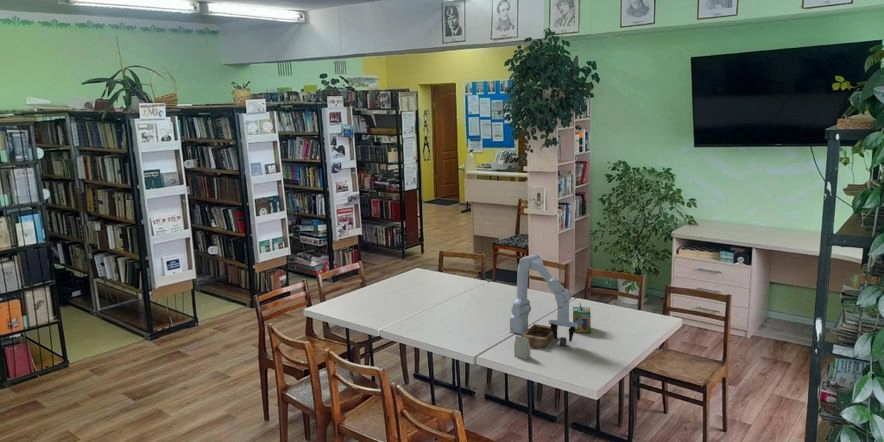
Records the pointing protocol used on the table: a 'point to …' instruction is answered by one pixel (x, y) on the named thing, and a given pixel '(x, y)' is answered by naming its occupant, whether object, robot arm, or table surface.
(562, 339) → the lid
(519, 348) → the grey upright block
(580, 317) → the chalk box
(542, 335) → the box
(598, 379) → the table surface
